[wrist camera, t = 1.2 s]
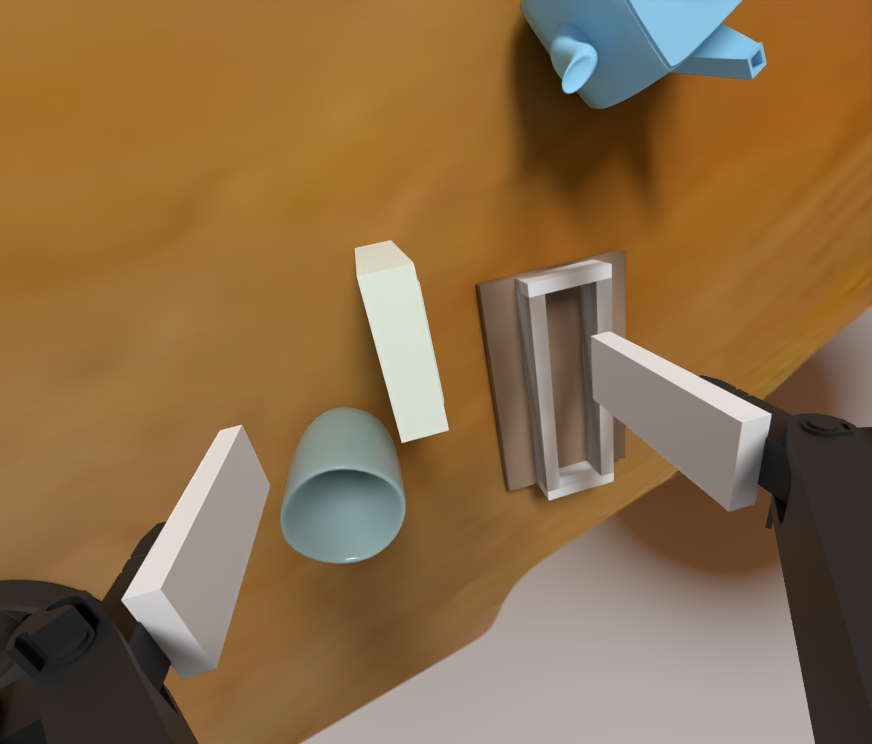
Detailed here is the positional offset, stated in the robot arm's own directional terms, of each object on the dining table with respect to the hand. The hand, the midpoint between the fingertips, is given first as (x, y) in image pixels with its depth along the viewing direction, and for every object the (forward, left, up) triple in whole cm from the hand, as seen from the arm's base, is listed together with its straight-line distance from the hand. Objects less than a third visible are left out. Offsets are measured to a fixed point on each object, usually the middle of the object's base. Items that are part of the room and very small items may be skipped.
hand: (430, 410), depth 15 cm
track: (+13, -10, -17) cm, 24 cm away
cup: (-6, -10, -18) cm, 21 cm away
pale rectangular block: (0, 0, -17) cm, 17 cm away
